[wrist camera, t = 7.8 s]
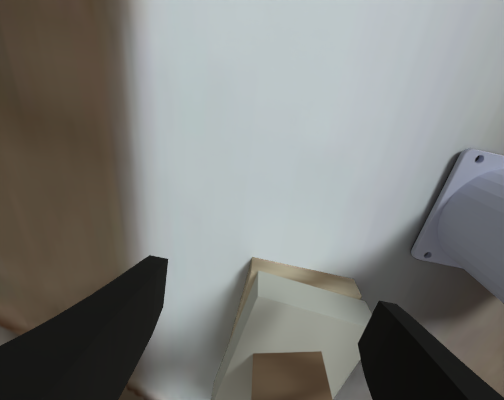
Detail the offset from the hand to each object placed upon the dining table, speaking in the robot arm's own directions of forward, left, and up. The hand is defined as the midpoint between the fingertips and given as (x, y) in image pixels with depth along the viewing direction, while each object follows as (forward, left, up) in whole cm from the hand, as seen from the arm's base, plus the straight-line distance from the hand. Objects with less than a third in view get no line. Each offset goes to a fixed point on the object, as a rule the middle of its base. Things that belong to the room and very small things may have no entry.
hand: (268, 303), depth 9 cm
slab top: (-4, +11, -8) cm, 14 cm away
